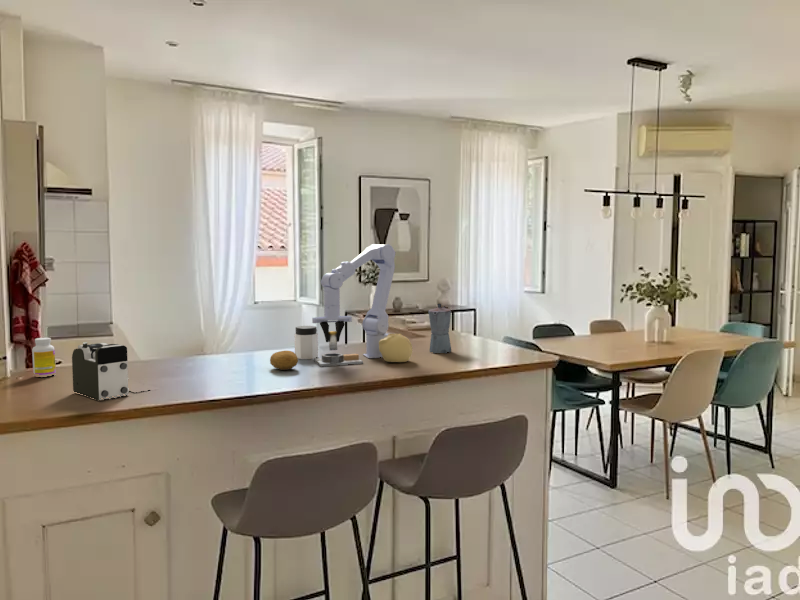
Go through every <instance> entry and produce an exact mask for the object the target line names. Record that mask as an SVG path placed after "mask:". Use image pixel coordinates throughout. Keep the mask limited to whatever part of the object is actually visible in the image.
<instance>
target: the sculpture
mask: <svg viewBox="0 0 800 600" xmlns="http://www.w3.org/2000/svg"><path fill="white" fill-rule="evenodd" d="M388 334H389V335H387V337H385V338H384V339H381V340H380V341H379V351H380V352H381V354H382V356H383V357H382V358H383V360H384V361H385V362H387V363H406V362H408V361H409V360H410V358H411V357H412V355H413V345H412V343H411V341H410V340H409V338H408V337H406V336H404V335H402V333H397V332H395V333H388Z"/></svg>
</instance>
